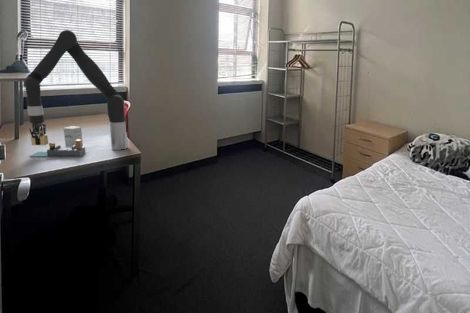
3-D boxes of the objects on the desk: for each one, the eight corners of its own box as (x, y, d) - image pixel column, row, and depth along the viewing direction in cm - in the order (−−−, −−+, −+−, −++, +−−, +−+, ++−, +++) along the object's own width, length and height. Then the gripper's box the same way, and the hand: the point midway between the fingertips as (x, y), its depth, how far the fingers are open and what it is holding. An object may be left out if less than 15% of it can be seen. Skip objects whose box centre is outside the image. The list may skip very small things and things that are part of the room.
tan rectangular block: (48, 143, 193) (47, 135, 192) (44, 145, 189) (43, 136, 188) (35, 143, 193) (34, 134, 191) (31, 145, 189) (30, 136, 187)
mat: (53, 152, 197) (53, 151, 197) (46, 157, 189) (46, 156, 189) (37, 152, 197) (37, 151, 197) (29, 157, 188) (29, 156, 188)
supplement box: (65, 147, 209) (62, 127, 206) (74, 144, 216) (72, 125, 213) (74, 148, 207) (72, 128, 204) (83, 146, 214) (81, 126, 210)
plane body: (85, 153, 198) (83, 138, 196) (80, 156, 190) (78, 141, 188) (54, 153, 197) (52, 138, 194) (47, 156, 189) (45, 141, 187)
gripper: (36, 116, 180) (40, 146, 184) (48, 112, 193) (52, 140, 198) (21, 115, 179) (26, 146, 184) (35, 111, 193) (39, 140, 197)
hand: (40, 143), depth 191 cm, fingers closed on tan rectangular block, 4 cm apart
